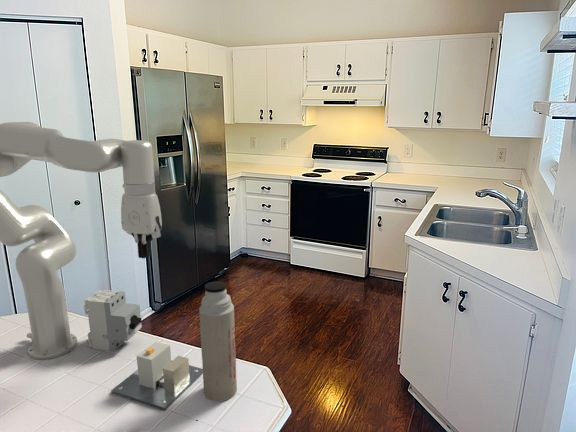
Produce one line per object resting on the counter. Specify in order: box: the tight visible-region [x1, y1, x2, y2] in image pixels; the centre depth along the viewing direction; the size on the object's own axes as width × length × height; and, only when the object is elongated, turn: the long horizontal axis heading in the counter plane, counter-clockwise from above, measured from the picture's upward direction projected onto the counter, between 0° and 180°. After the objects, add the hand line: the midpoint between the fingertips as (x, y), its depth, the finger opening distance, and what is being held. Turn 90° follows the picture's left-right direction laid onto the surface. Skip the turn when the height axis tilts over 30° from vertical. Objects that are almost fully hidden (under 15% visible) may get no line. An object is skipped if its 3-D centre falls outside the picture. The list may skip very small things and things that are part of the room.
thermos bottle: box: [198, 281, 238, 403], centre depth 100 cm, size 8×8×28 cm
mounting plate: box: [110, 355, 203, 412], centre depth 106 cm, size 16×16×7 cm
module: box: [136, 341, 172, 389], centre depth 106 cm, size 4×7×9 cm, turn 157°
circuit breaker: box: [83, 289, 143, 352], centre depth 122 cm, size 8×14×15 cm, turn 78°
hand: (145, 256), depth 113 cm, fingers closed
